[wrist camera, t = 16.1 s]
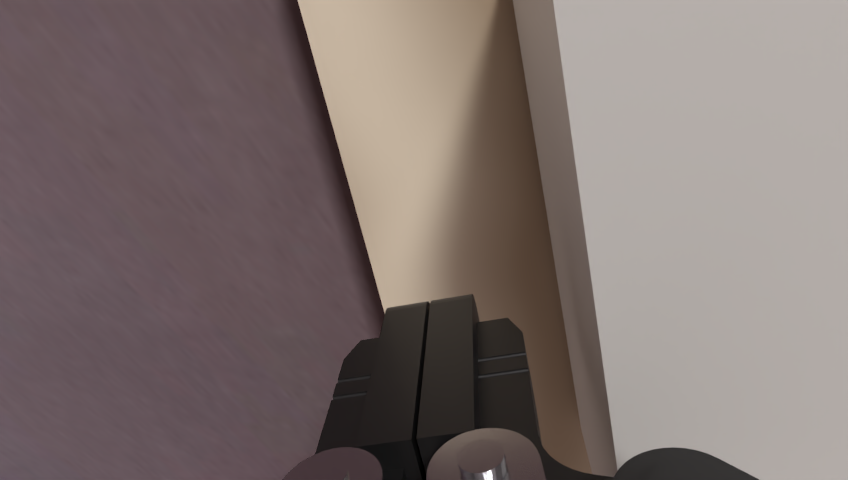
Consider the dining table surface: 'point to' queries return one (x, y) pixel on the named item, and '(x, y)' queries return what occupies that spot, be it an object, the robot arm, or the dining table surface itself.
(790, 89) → the cover
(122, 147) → the dining table surface
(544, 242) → the board
